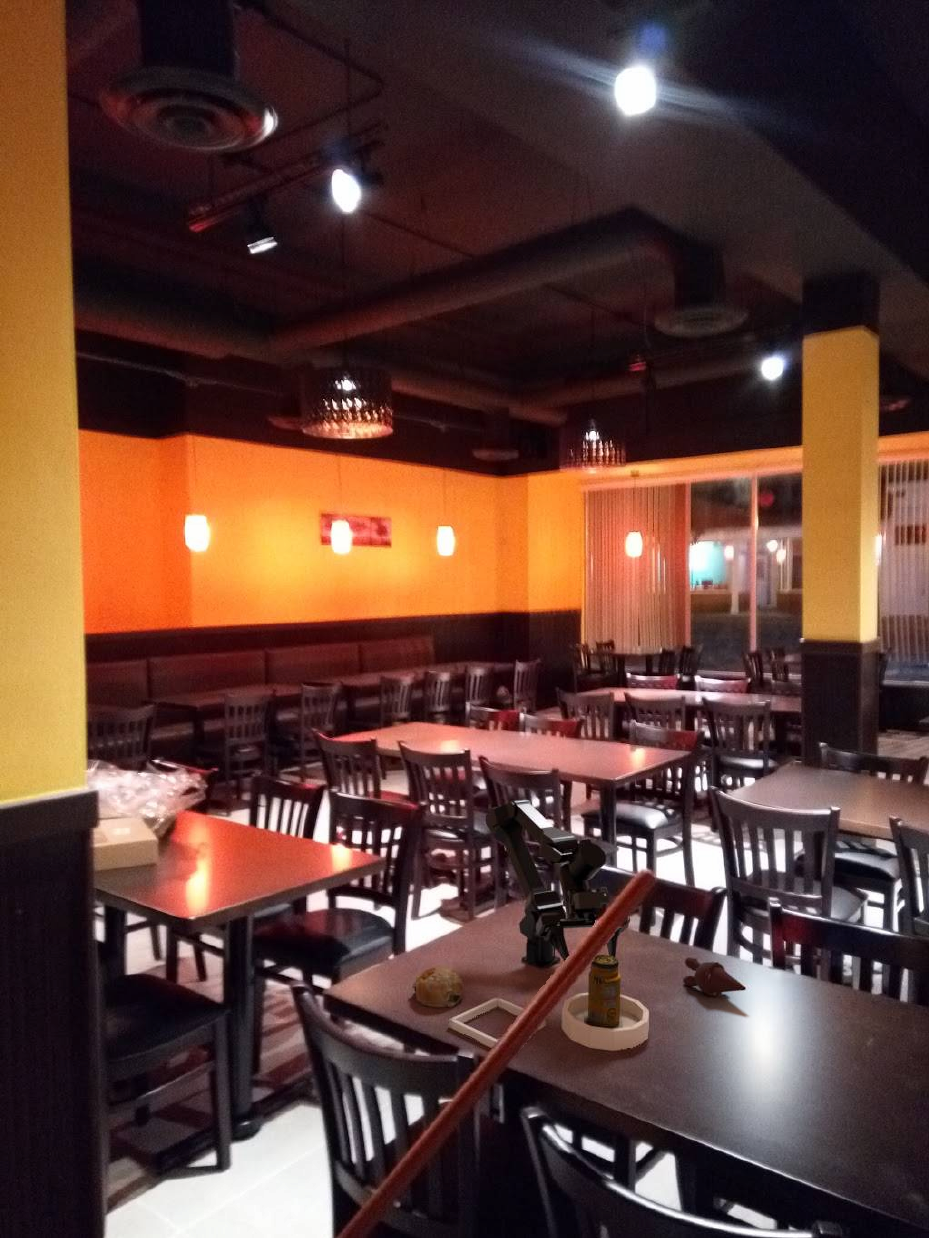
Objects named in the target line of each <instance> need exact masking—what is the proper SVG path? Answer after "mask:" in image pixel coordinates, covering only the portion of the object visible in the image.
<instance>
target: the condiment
mask: <svg viewBox="0 0 929 1238" xmlns="http://www.w3.org/2000/svg"><path fill="white" fill-rule="evenodd" d="M595 956H596V955H595ZM619 964H620V963H619V960H618V958H616V957H612V956H609V954H597V956H596V957H595V959H594V961H593V962H592V963H591V962H590V971H589V972H588V989H587V990H588V992H587V993H588V1011H584V1023H585V1024H587V1025H590V1026H593V1027H601V1028H609V1029H615V1028H623V1023H622V1016H621V1013H620V994H621V974H620V972H619V971H620V968H619Z"/></svg>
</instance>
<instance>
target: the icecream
mask: <svg viewBox="0 0 929 1238" xmlns="http://www.w3.org/2000/svg"><path fill="white" fill-rule="evenodd" d="M684 964H685V966H686V967H687V968H688V969H691V971H693V972H695V973H694V975H687V976H684V977H683V979H682V981H683V983H684V985H686V986H687V987H698V988H699V990H700V991H701V992H702V993H704V994H707V995H709V996H710V997H712V998H716V997H717V995H718V996H720V995H721V994H722V993H729V992H737V991H738V992H741V991H746V990H747V988H746V986H744V985H743V983H741V982H740V981H739V980H737V979H736V978H734V977H733V976H732V975H730V974H729V972H727V971H726V969H725V968H724V965H723V964H721V963H719V961H710V962H702V963H700V962H699V961H698V958H696V957H694V958H693V957H690V956H689V957H686V958H685V960H684Z"/></svg>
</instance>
